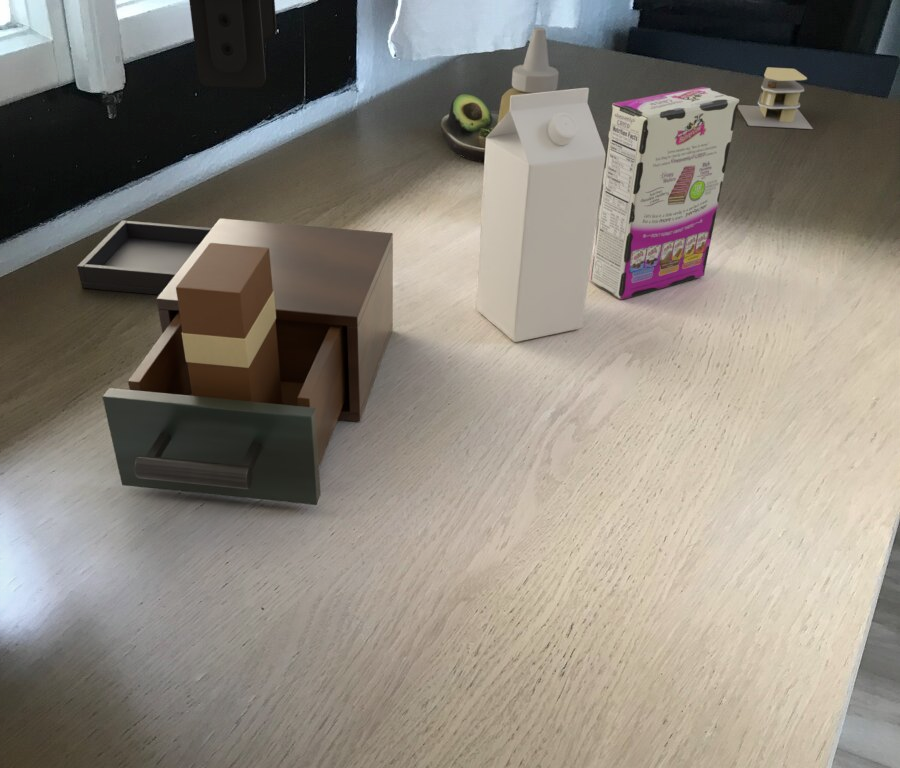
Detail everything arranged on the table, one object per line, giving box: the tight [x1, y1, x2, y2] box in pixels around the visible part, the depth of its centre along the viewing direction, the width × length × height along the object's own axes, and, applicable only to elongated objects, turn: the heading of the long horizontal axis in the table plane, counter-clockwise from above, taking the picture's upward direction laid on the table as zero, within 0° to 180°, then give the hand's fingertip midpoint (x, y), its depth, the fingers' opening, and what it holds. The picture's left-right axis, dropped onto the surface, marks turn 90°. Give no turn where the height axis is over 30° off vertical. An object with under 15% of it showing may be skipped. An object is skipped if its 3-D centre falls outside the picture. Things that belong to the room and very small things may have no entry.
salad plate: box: [440, 93, 500, 163], centre depth 125 cm, size 19×18×5 cm
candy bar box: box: [590, 86, 740, 300], centre depth 91 cm, size 11×5×16 cm, turn 123°
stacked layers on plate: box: [737, 66, 814, 130], centre depth 138 cm, size 10×9×6 cm
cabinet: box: [156, 218, 394, 423], centre depth 78 cm, size 16×15×9 cm
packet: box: [176, 243, 283, 405], centre depth 66 cm, size 4×7×12 cm, turn 173°
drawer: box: [102, 312, 349, 506], centre depth 67 cm, size 19×13×7 cm
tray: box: [76, 220, 213, 296], centre depth 93 cm, size 14×11×2 cm
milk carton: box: [475, 87, 607, 343], centre depth 83 cm, size 7×7×19 cm
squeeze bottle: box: [498, 27, 560, 123], centre depth 102 cm, size 8×8×18 cm
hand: (241, 59), depth 52 cm, fingers open, 9 cm apart
